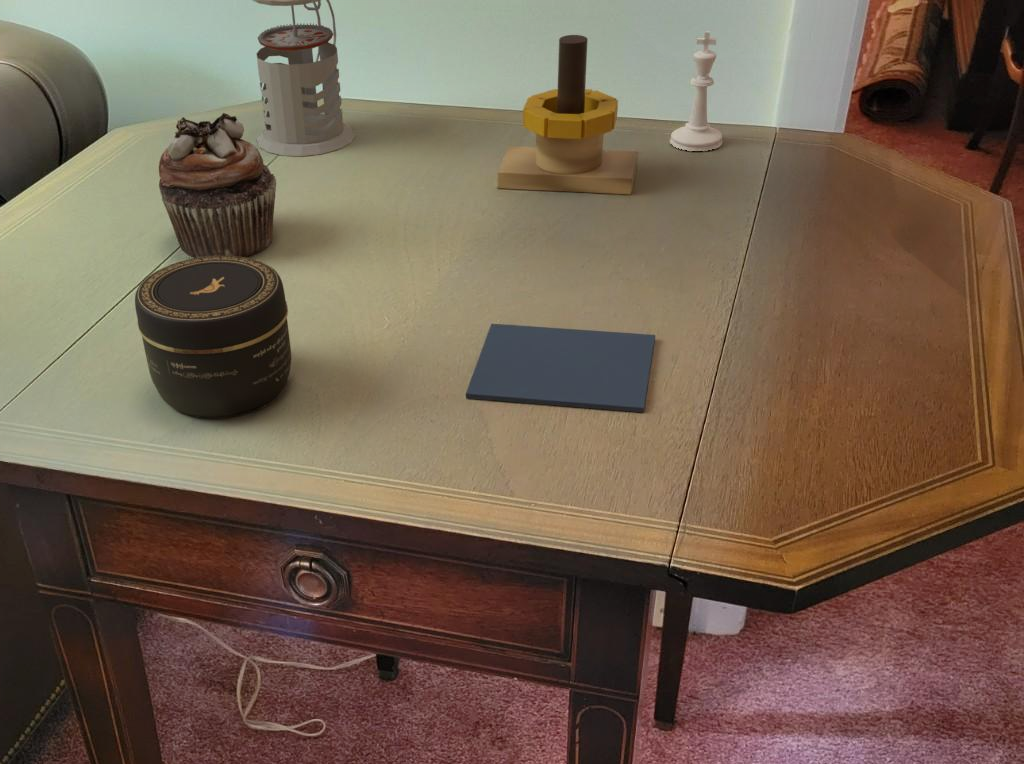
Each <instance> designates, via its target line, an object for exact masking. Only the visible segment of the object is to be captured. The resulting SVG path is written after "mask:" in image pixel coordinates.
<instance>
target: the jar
mask: <svg viewBox="0 0 1024 764" xmlns="http://www.w3.org/2000/svg"><path fill="white" fill-rule="evenodd" d="M136 289H137V290H136V292H135V296H134V305H135V313H136V318H137V327H138V331H139V334H140V335H141V338H142V343H143V347H144V353H145V357H146V362H147V367H148V371H149V375H150V378H151V381H152V383H153V385H154V387H155V389H156V391H157V393H158V394H159V396H160V398H161V399H162V400H163V402H165V403H166V404H167V405H168V406H170V407H171V408H172V409H174V410H176V411H177V412H179V413H181V414H183V415H186V416H191V417H195V418H199V419H200V418H201V419H226V418H234V417H238V416H239V417H240V416H242V415H247V414H250V413H252V412H255V411H258V410H260V409H262V408H264V407H266V406H268V405H269V404H270V403H272V402H273V401H274V400H276V399H277V398H278V397H279V396H280V394H281V393H282V391H284V389H285V388H286V386H287V384H288V381H289V378H290V372H291V366H292V348H291V340H290V332H289V331H290V330H289V323H288V316H289V315H288V314H289V308H288V303H287V300H286V294H285V288H284V284H283V281H282V277H281V275H280V274H279V273H278V272H277V271H276V270H275V269H274V268H273V267H272V266H270V265H268V264H267V263H264V262H262V261H260V260H257V259H254V258H249V257H238V256H207V257H199V258H195V257H192V258H189V259H184V260H180V261H177V262H174V263H172V264H168V265H167V266H164V267H162V268H159V269H158V270H156V271H154V272H152V273H151V274H150V275H148V276H147V277H146V278H144V280H143V281H142V282H141V283H140V284H139V286H138V287H137V288H136Z"/></svg>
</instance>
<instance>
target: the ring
mask: <svg viewBox="0 0 1024 764" xmlns="http://www.w3.org/2000/svg"><path fill="white" fill-rule="evenodd" d="M557 92H558V88H555V89H551V90H547V91H544V92H540V93H537V94H536V93H535V94H533V95H531V96H529V97H527V99H526V102H525V104H524V106H523V109H522V116H523V117H522V126H523V128H524V129H526V130H528V131H530V132H532V133H535V135H536V134H538V135H541V136H543V137H546V136H548V138H564V139H581V137H583V138H585V139H586V138H590V137H593V136H596V135H600V134H603V133H604V134H606V133H610V132H612V131H614V130H615V127H616V123H617V119H618V110H619V109H618V108H619V99H617V98H616V97H614V96H611V95H609V94H607V93H604V92H601V91H599V90H593V89H592V88H590V89H589V88H585V106H584V113H581V114H559V113H557Z"/></svg>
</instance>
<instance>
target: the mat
mask: <svg viewBox="0 0 1024 764" xmlns="http://www.w3.org/2000/svg"><path fill="white" fill-rule="evenodd" d="M655 342H656V334H651V333H650V334H648V333H633V332H618V331H606V330H605V331H604V330H590V329H575V328H560V327H547V326H546V327H545V326H533V325H517V324H505V323H503V324H501V323H490V326H489V329H488V331H487V335H486V337H485V340H484V343H483V345H482V348H481V351H480V353H479V356H478V359H477V361H476V365H475V367H474V370H473V373H472V376H471V378H470V381H469V384H468V386H467V389H466V392H465V398H466V399H469V400H471V399H473V400H481V401H482V400H483V401H484V400H485V401H493V402H494V401H495V402H497V401H498V402H506V403H507V402H508V403H520V404H523V403H524V404H531V405H532V404H533V405H545V406H556V407H558V406H559V407H571V408H582V409H583V408H584V409H594V410H606V411H621V412H633V413H645V406H646V400H647V394H648V389H649V381H650V374H651V369H652V363H653V362H652V361H653V355H654V348H655Z"/></svg>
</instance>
